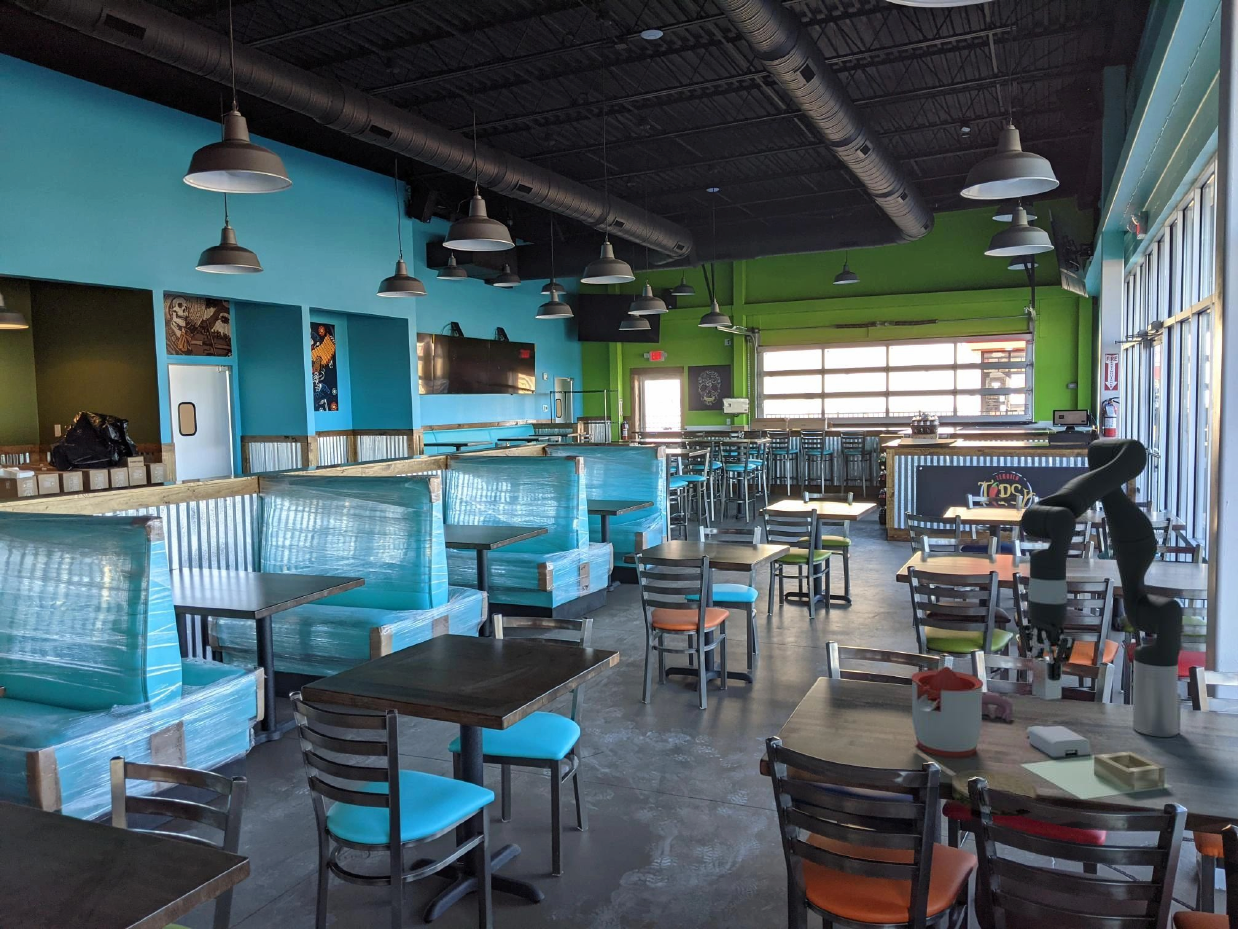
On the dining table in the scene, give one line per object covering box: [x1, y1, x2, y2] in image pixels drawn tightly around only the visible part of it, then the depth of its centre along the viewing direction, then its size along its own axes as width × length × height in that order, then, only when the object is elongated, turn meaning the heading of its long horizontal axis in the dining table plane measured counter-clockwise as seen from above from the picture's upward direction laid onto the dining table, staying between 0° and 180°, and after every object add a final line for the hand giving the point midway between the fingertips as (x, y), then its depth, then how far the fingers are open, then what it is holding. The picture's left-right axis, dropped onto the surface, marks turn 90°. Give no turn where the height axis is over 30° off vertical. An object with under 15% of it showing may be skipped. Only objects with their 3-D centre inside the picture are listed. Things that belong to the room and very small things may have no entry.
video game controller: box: [982, 692, 1014, 723], centre depth 223 cm, size 10×5×7 cm, turn 58°
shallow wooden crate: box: [1093, 751, 1166, 791], centre depth 180 cm, size 9×9×4 cm
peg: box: [1031, 656, 1063, 701], centre depth 186 cm, size 4×4×8 cm
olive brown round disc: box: [951, 769, 1038, 817], centre depth 175 cm, size 16×16×3 cm
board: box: [1020, 753, 1173, 800], centre depth 183 cm, size 22×18×1 cm
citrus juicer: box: [910, 666, 984, 758], centre depth 199 cm, size 16×17×20 cm
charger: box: [1025, 725, 1091, 758], centre depth 202 cm, size 5×9×15 cm
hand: (1046, 676), depth 186 cm, fingers closed on peg, 4 cm apart
